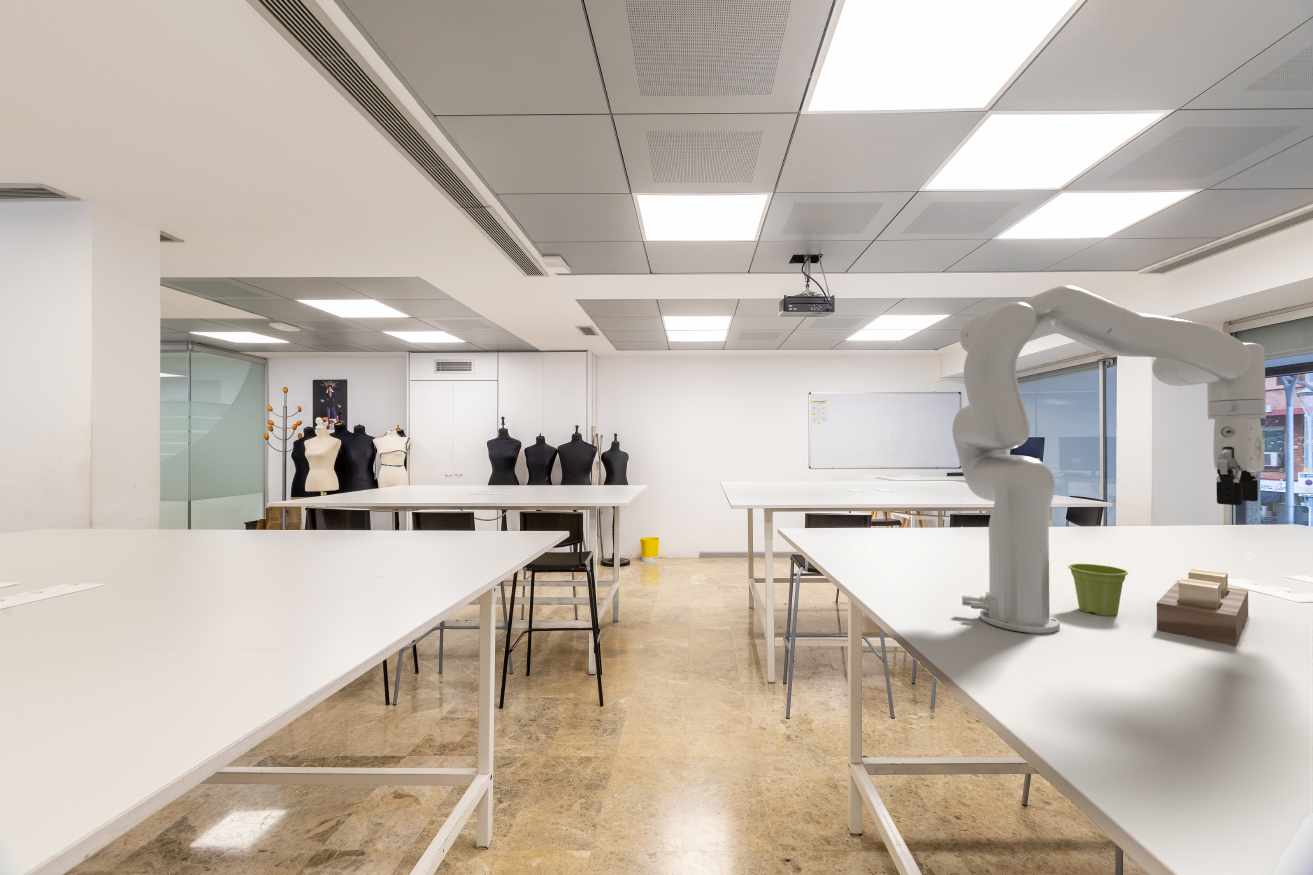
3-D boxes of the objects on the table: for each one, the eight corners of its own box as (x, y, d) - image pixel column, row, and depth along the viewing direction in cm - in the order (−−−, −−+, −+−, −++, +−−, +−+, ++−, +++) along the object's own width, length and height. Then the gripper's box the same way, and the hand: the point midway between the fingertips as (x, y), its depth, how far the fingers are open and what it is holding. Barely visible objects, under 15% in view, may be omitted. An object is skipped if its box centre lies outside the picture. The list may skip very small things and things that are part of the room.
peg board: (1236, 645, 93) (1236, 615, 93) (1156, 630, 101) (1156, 602, 101) (1248, 615, 109) (1248, 589, 109) (1178, 604, 116) (1178, 580, 116)
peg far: (1225, 602, 105) (1224, 576, 105) (1188, 596, 109) (1188, 572, 109) (1227, 597, 108) (1227, 572, 108) (1192, 591, 112) (1192, 568, 112)
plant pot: (1058, 603, 117) (1058, 562, 117) (1108, 605, 116) (1107, 563, 116) (1086, 618, 108) (1086, 573, 108) (1140, 619, 107) (1140, 574, 107)
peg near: (1217, 615, 97) (1217, 588, 97) (1178, 608, 101) (1178, 582, 101) (1220, 609, 101) (1220, 583, 101) (1183, 603, 104) (1182, 577, 104)
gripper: (1251, 409, 96) (1252, 508, 96) (1278, 410, 105) (1279, 500, 105) (1192, 411, 103) (1194, 504, 102) (1222, 412, 112) (1224, 497, 112)
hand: (1237, 502), depth 104 cm, fingers open, 9 cm apart
